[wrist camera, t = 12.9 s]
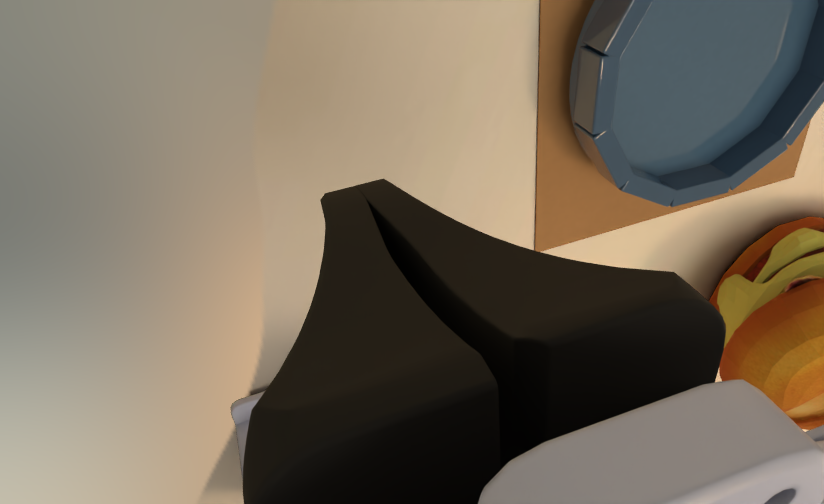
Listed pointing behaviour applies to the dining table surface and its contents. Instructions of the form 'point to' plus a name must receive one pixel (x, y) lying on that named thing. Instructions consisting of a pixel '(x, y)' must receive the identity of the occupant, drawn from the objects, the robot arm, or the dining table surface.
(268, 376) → the dining table surface
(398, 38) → the dining table surface
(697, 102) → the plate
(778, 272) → the cheeseburger
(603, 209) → the placemat
